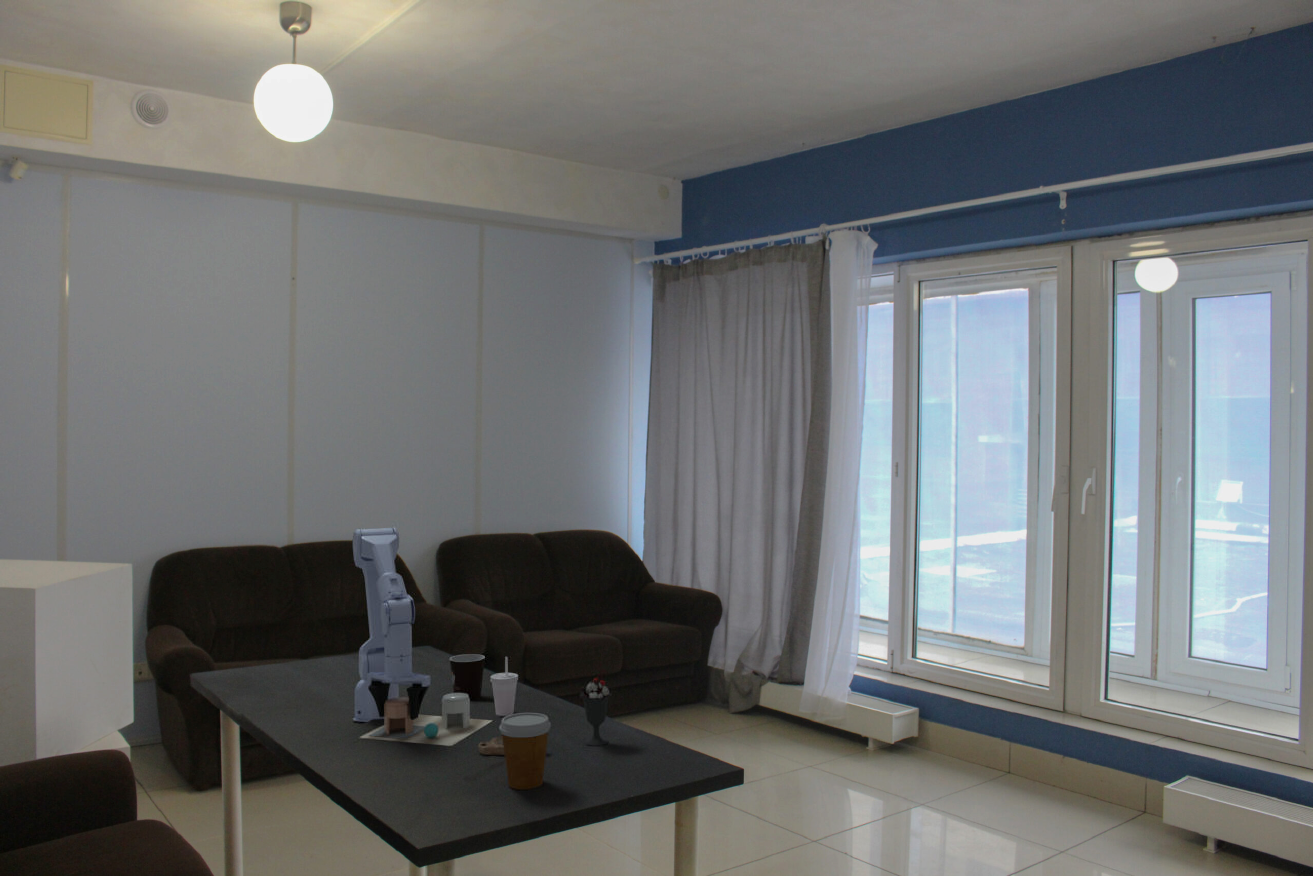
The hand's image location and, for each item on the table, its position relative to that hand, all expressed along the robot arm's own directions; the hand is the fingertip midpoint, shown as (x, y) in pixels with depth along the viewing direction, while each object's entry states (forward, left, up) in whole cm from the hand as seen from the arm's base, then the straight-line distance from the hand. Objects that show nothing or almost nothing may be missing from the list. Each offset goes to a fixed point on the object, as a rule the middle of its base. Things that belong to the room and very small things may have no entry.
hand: (398, 717), depth 212 cm
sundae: (+43, +7, -4) cm, 44 cm away
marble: (+9, -2, -2) cm, 9 cm away
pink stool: (0, 0, -3) cm, 3 cm away
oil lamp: (+29, -5, -4) cm, 30 cm away
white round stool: (+10, +7, -3) cm, 13 cm away
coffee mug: (-1, +34, -4) cm, 34 cm away
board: (+5, +4, -4) cm, 7 cm away
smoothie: (+16, +19, -4) cm, 25 cm away
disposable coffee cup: (+39, -20, -4) cm, 44 cm away
